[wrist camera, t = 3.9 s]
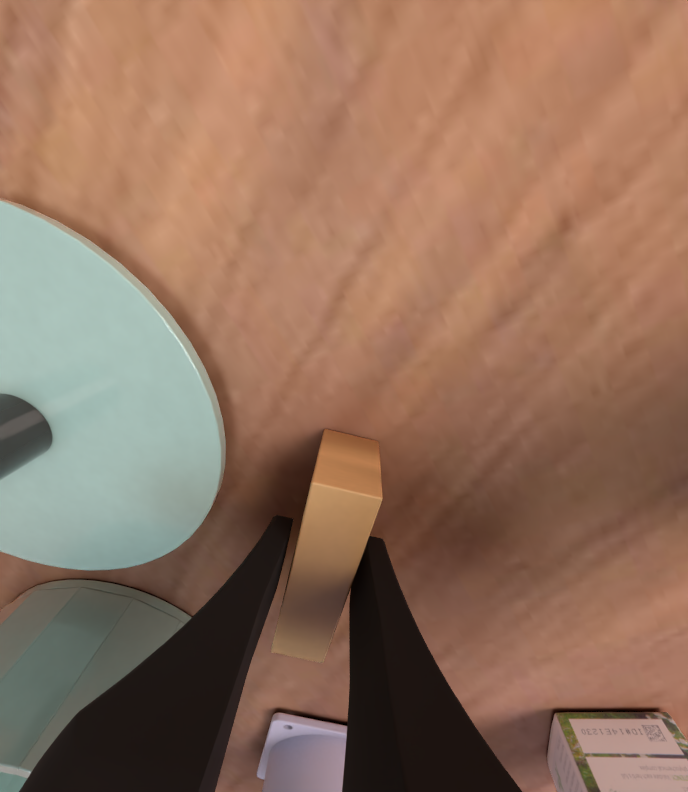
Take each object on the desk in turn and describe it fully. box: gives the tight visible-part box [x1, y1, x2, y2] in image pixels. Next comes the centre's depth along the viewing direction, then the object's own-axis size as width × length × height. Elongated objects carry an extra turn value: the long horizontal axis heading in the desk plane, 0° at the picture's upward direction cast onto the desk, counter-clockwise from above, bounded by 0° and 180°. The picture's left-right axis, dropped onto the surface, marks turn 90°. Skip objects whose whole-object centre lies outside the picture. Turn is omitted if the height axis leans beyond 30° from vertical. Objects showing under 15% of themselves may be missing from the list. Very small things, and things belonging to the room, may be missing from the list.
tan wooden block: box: [271, 429, 383, 663], centre depth 12 cm, size 8×2×3 cm, turn 167°
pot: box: [0, 579, 192, 792], centre depth 15 cm, size 12×12×6 cm
